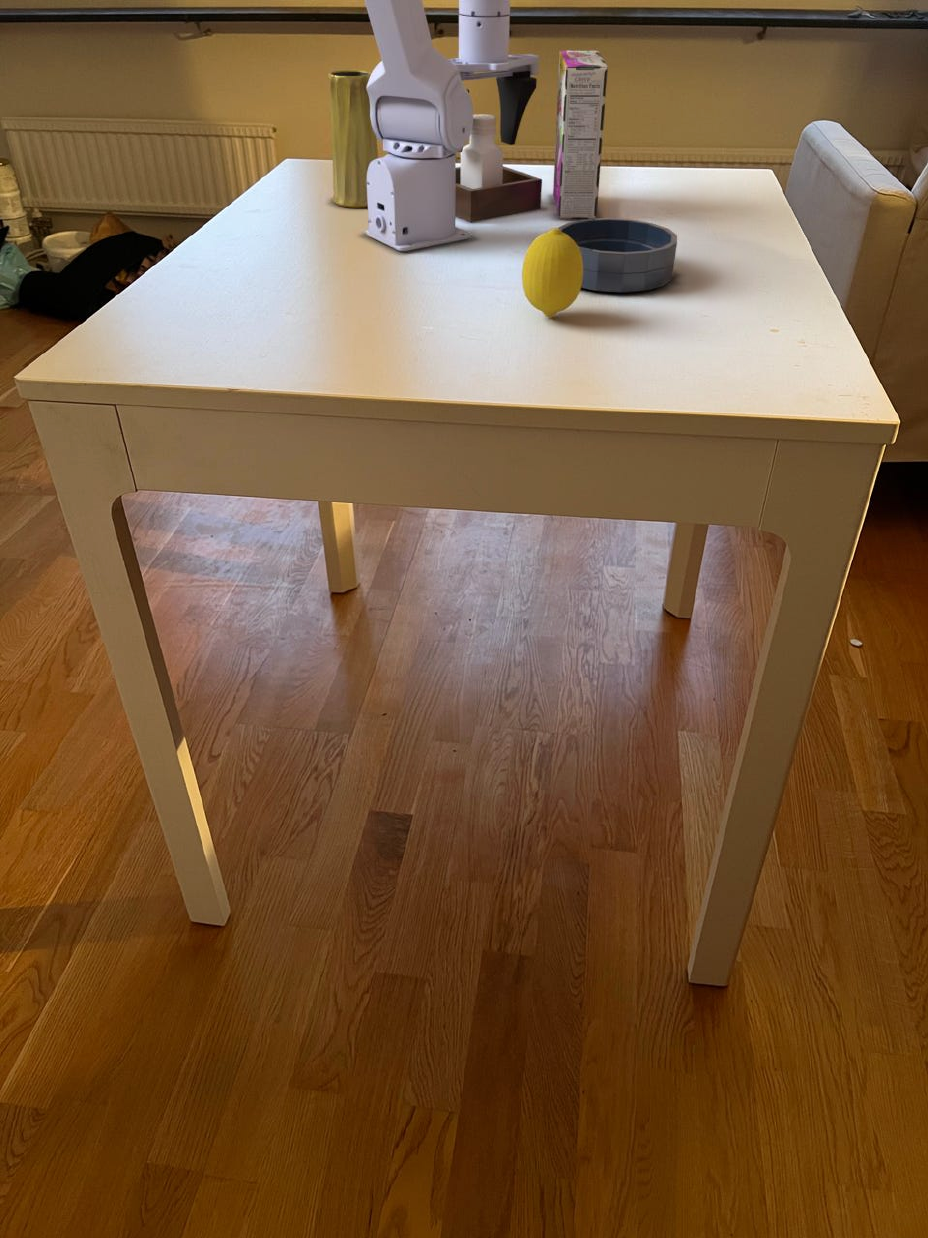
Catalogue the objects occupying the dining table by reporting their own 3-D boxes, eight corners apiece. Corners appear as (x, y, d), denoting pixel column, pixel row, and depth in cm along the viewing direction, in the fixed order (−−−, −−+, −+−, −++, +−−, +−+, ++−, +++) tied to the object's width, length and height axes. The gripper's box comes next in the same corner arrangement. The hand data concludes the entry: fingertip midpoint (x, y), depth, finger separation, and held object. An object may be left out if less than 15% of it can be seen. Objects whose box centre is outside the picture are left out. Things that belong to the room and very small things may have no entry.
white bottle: (458, 201, 120) (458, 116, 114) (480, 195, 122) (482, 111, 116) (481, 207, 118) (483, 121, 112) (503, 201, 120) (506, 116, 114)
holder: (470, 222, 114) (471, 191, 112) (422, 202, 121) (422, 172, 119) (540, 209, 119) (542, 178, 117) (490, 190, 126) (491, 161, 124)
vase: (351, 210, 118) (343, 78, 109) (324, 200, 122) (314, 71, 113) (391, 202, 121) (386, 73, 112) (364, 192, 125) (357, 67, 116)
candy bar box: (550, 195, 124) (558, 49, 114) (588, 196, 124) (600, 49, 114) (555, 220, 115) (565, 63, 105) (597, 220, 115) (610, 64, 105)
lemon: (531, 330, 87) (536, 239, 82) (512, 309, 91) (516, 221, 86) (588, 325, 88) (596, 234, 83) (567, 304, 92) (573, 217, 88)
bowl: (606, 303, 93) (610, 261, 90) (529, 269, 101) (531, 229, 98) (696, 280, 98) (702, 239, 96) (616, 249, 106) (620, 211, 104)
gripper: (448, 21, 102) (448, 160, 110) (557, 14, 108) (550, 146, 117) (414, 14, 107) (417, 148, 115) (521, 8, 113) (516, 135, 121)
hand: (482, 146), depth 116 cm, fingers open, 7 cm apart
